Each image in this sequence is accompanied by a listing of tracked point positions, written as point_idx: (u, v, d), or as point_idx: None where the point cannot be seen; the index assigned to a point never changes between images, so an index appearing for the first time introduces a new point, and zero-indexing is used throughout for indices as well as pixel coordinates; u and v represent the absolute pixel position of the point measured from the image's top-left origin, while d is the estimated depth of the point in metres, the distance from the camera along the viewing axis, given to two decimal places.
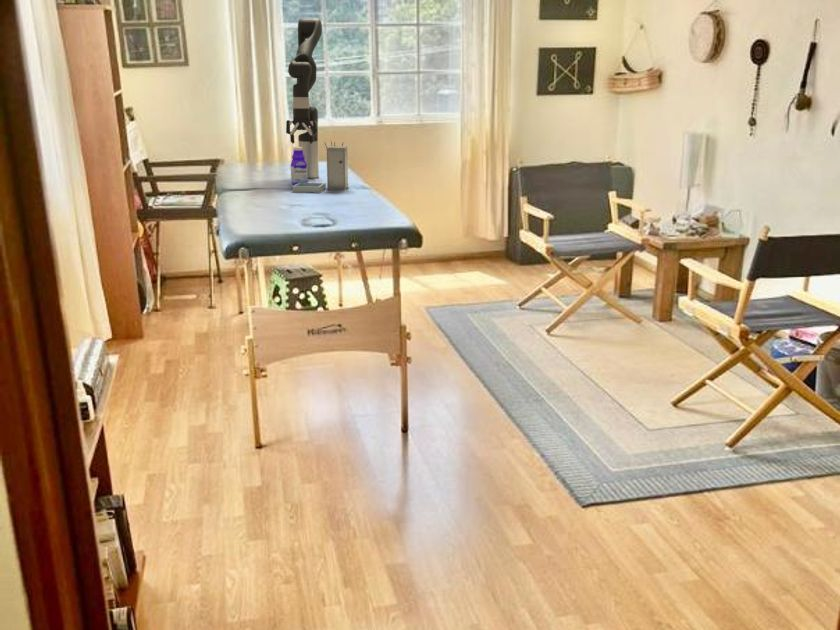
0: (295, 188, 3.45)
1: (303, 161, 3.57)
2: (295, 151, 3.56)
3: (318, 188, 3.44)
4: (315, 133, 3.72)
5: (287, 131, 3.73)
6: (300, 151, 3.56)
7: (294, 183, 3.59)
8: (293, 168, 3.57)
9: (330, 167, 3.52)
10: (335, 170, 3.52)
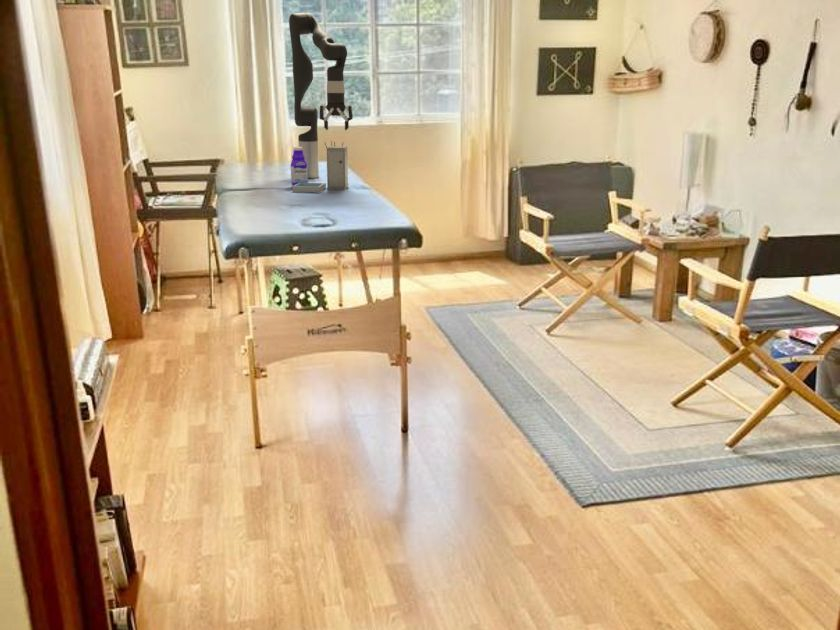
0: (295, 188, 3.45)
1: (303, 161, 3.57)
2: (295, 151, 3.56)
3: (318, 188, 3.44)
4: (350, 119, 3.52)
5: (321, 117, 3.53)
6: (300, 151, 3.56)
7: (294, 183, 3.59)
8: (293, 168, 3.57)
9: (330, 167, 3.52)
10: (335, 170, 3.52)
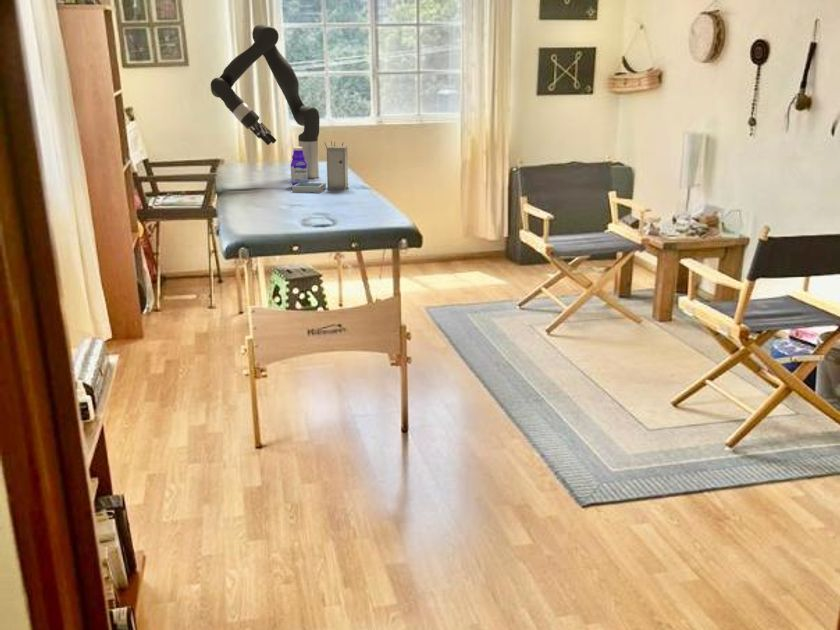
0: (295, 188, 3.45)
1: (303, 161, 3.57)
2: (295, 151, 3.56)
3: (318, 188, 3.44)
4: None
5: None
6: (300, 151, 3.56)
7: (294, 183, 3.59)
8: (293, 168, 3.57)
9: (330, 167, 3.52)
10: (335, 170, 3.52)
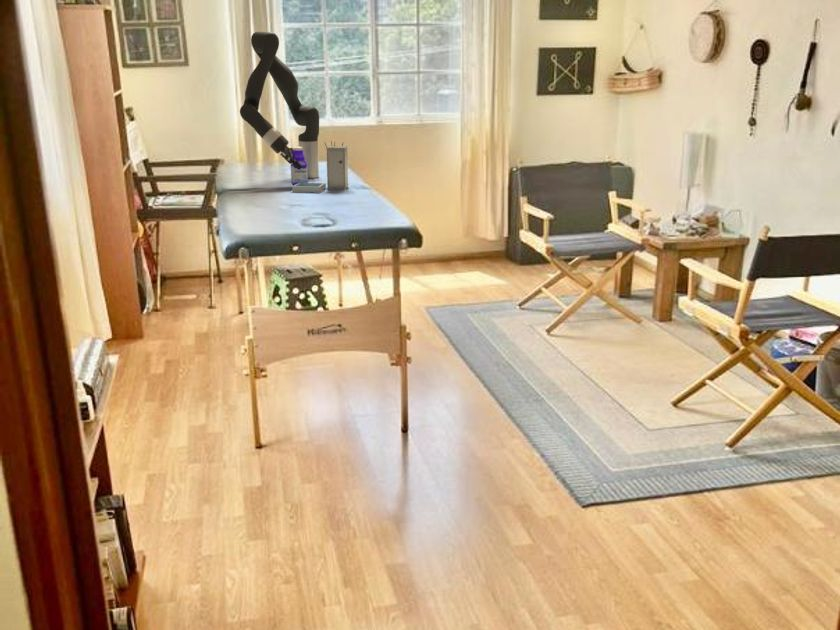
0: (295, 188, 3.45)
1: (303, 161, 3.57)
2: (295, 151, 3.56)
3: (318, 188, 3.44)
4: None
5: None
6: (300, 151, 3.56)
7: (294, 183, 3.59)
8: (293, 168, 3.57)
9: (330, 167, 3.52)
10: (335, 170, 3.52)
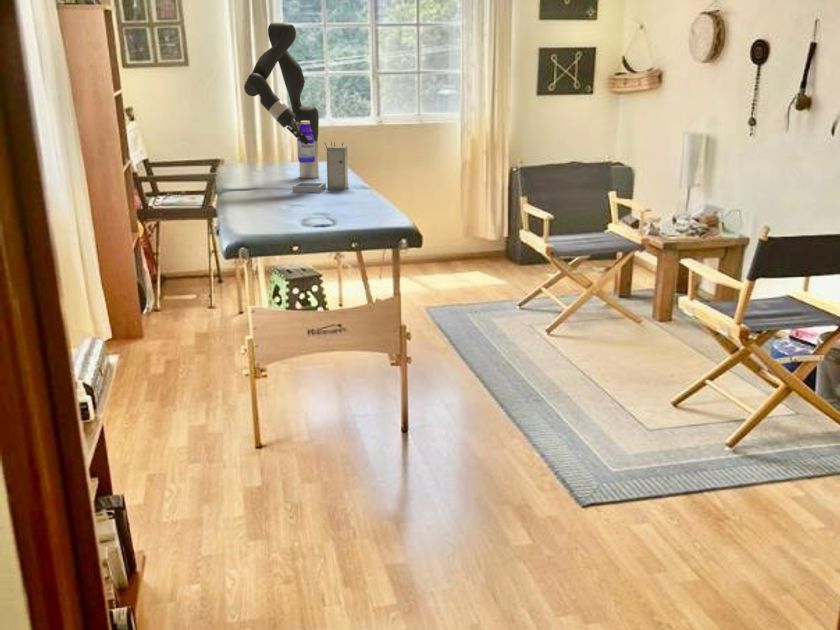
0: (295, 188, 3.45)
1: (310, 135, 3.43)
2: (302, 125, 3.41)
3: (318, 188, 3.44)
4: (296, 137, 3.39)
5: None
6: (307, 125, 3.41)
7: (301, 158, 3.44)
8: (300, 143, 3.42)
9: (330, 167, 3.52)
10: (335, 170, 3.52)
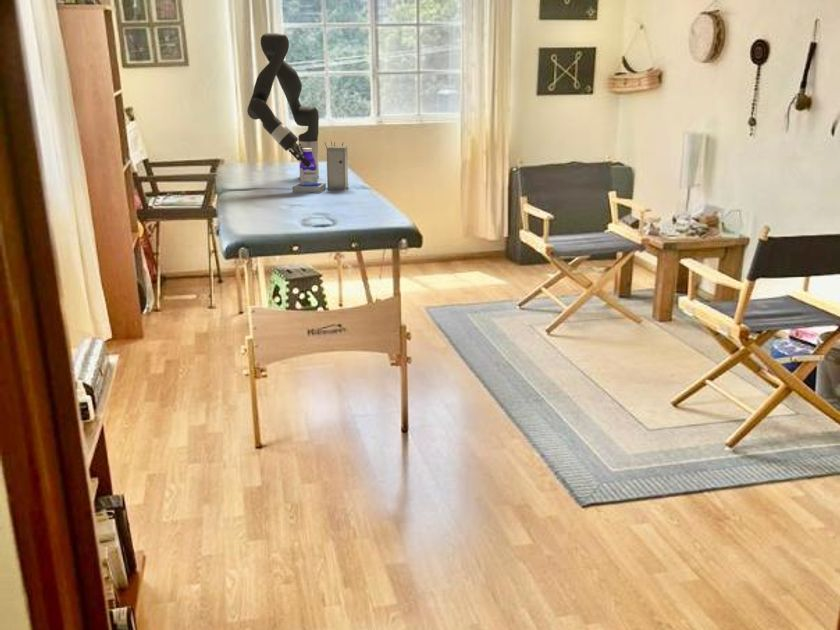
0: (295, 188, 3.45)
1: (312, 163, 3.46)
2: (304, 152, 3.45)
3: (318, 188, 3.44)
4: (298, 160, 3.41)
5: None
6: (309, 152, 3.45)
7: (303, 185, 3.48)
8: (302, 170, 3.46)
9: (330, 167, 3.52)
10: (335, 170, 3.52)
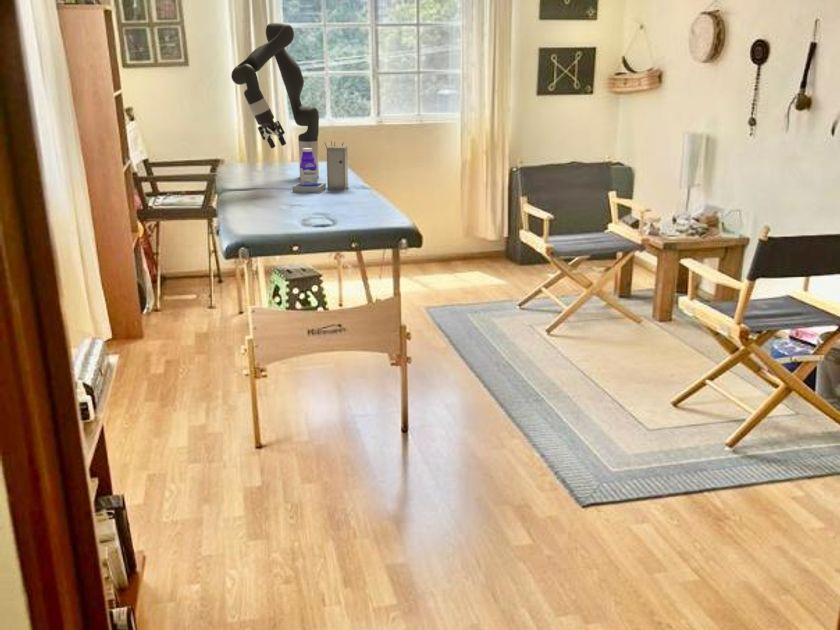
0: (295, 188, 3.45)
1: (312, 163, 3.46)
2: (304, 152, 3.45)
3: (318, 188, 3.44)
4: (280, 135, 3.42)
5: (263, 138, 3.52)
6: (309, 152, 3.45)
7: (303, 185, 3.48)
8: (302, 170, 3.46)
9: (330, 167, 3.52)
10: (335, 170, 3.52)
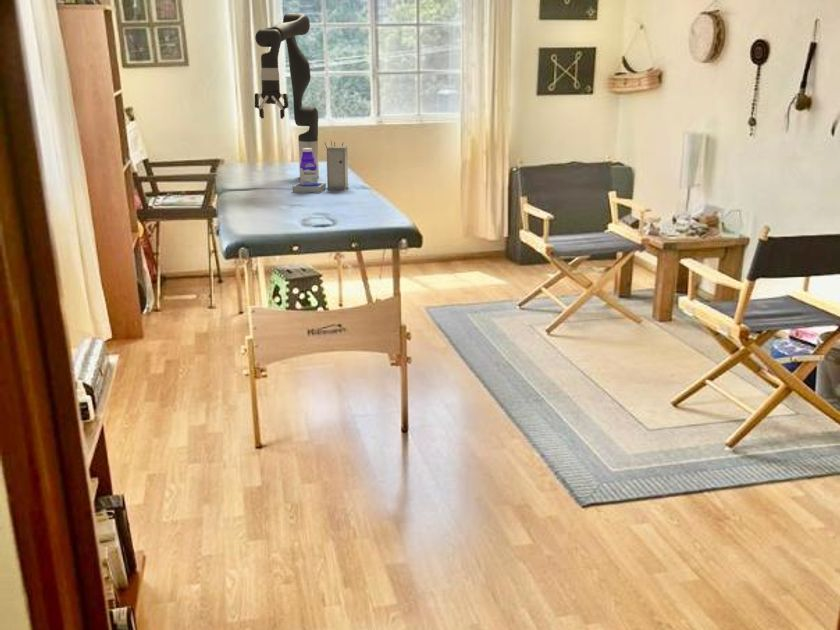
0: (295, 188, 3.45)
1: (312, 163, 3.46)
2: (304, 152, 3.45)
3: (318, 188, 3.44)
4: (286, 107, 3.43)
5: (255, 105, 3.44)
6: (309, 152, 3.45)
7: (303, 185, 3.48)
8: (302, 170, 3.46)
9: (330, 167, 3.52)
10: (335, 170, 3.52)
